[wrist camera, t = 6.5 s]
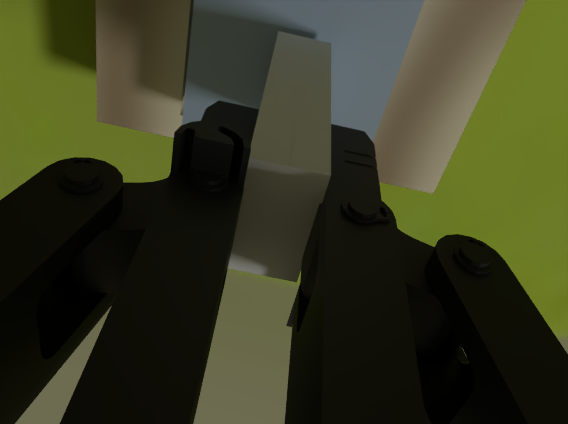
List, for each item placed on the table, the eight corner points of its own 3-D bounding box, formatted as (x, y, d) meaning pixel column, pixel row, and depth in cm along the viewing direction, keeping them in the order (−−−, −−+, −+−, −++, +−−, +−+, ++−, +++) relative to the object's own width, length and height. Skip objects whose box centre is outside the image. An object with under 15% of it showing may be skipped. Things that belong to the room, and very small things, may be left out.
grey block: (203, 85, 20) (179, 141, 17) (225, -90, 16) (199, -63, 13) (355, 119, 21) (360, 180, 17) (409, -44, 17) (428, -7, 14)
